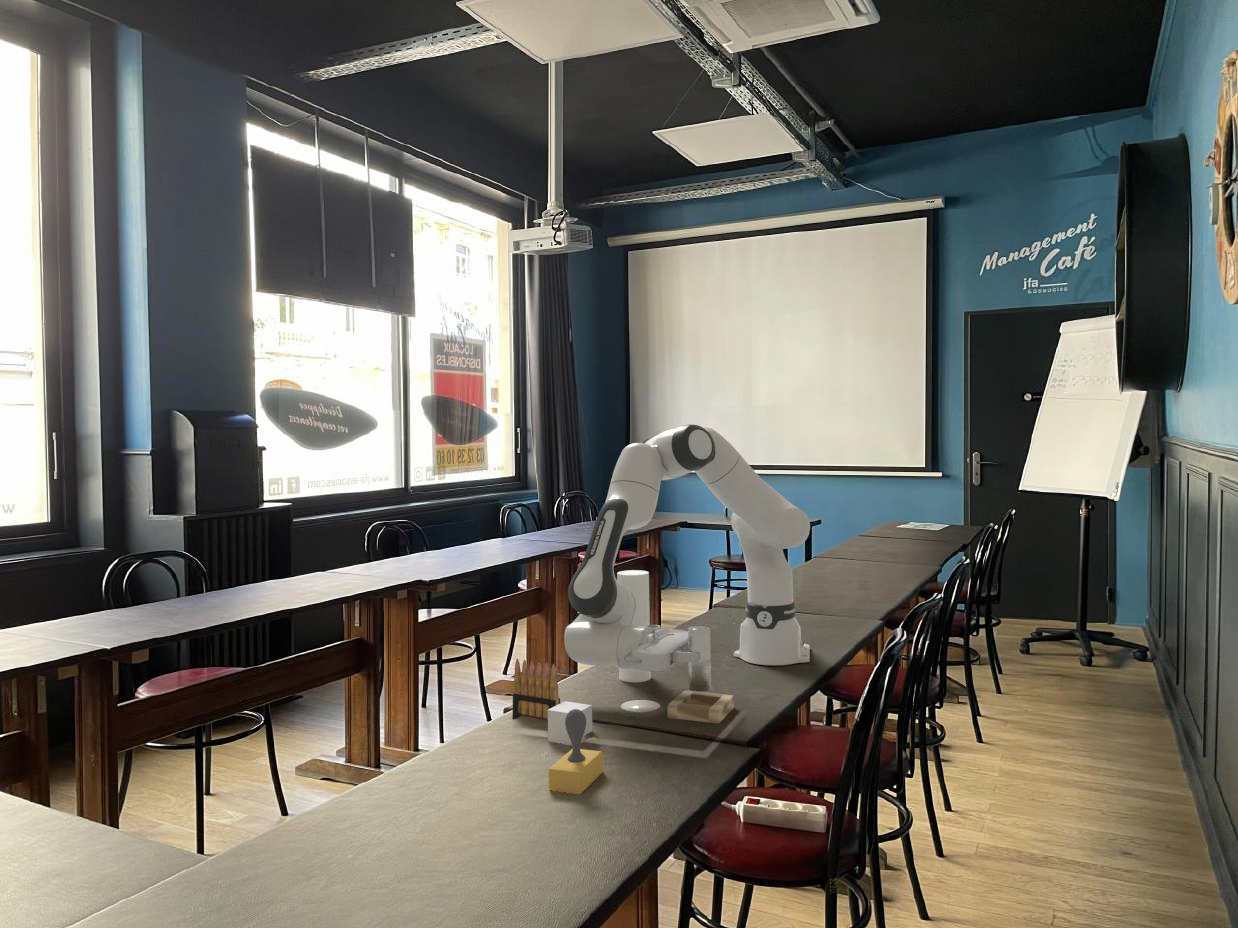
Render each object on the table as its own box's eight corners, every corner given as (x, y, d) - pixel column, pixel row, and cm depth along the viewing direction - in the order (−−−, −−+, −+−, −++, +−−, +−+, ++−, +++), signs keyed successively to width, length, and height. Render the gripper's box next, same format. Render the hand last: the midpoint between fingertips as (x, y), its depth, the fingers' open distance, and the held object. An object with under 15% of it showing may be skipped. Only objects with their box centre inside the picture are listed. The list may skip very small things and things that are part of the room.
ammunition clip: (561, 723, 179) (560, 663, 178) (556, 726, 177) (554, 665, 176) (517, 715, 184) (516, 657, 183) (512, 718, 182) (510, 659, 182)
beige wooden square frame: (685, 707, 187) (684, 690, 187) (734, 712, 183) (733, 695, 183) (667, 722, 178) (667, 704, 178) (718, 728, 174) (718, 710, 174)
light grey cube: (575, 746, 166) (574, 714, 165) (548, 741, 169) (547, 709, 168) (592, 736, 171) (591, 704, 171) (565, 731, 174) (564, 700, 174)
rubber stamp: (581, 795, 144) (579, 720, 143) (548, 790, 146) (546, 716, 145) (604, 772, 153) (602, 701, 152) (572, 768, 155) (570, 699, 154)
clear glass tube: (692, 684, 183) (692, 625, 183) (713, 686, 181) (713, 626, 181) (685, 690, 179) (684, 629, 179) (706, 692, 177) (706, 631, 177)
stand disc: (630, 702, 191) (630, 698, 191) (665, 706, 188) (665, 702, 188) (614, 714, 184) (614, 709, 184) (651, 718, 180) (651, 713, 180)
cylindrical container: (647, 687, 202) (645, 575, 201) (616, 685, 204) (614, 574, 203) (653, 678, 209) (651, 570, 208) (622, 677, 211) (620, 570, 210)
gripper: (618, 643, 175) (686, 649, 170) (656, 622, 194) (718, 627, 189) (618, 676, 176) (686, 683, 170) (656, 652, 194) (718, 657, 189)
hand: (703, 653), depth 180 cm, fingers closed on clear glass tube, 4 cm apart
